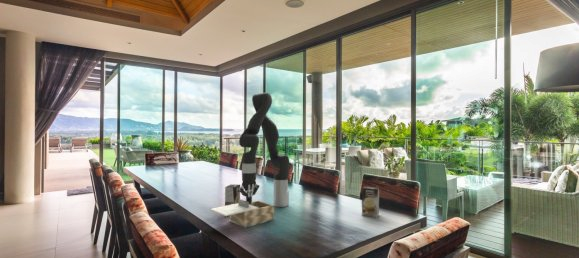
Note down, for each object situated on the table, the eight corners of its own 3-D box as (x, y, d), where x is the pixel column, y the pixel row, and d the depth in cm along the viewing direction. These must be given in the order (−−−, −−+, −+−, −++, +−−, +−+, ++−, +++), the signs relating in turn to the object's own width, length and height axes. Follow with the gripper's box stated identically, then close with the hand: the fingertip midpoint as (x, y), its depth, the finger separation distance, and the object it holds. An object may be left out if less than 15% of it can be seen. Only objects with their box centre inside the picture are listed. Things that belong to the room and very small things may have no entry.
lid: (242, 203, 165) (242, 197, 165) (258, 208, 154) (258, 201, 154) (210, 209, 151) (210, 202, 151) (225, 216, 141) (225, 208, 141)
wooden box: (258, 214, 172) (258, 200, 172) (273, 219, 162) (273, 205, 162) (230, 221, 159) (230, 206, 159) (245, 227, 149) (245, 211, 149)
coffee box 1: (234, 215, 170) (235, 187, 170) (224, 214, 172) (224, 186, 172) (240, 210, 179) (240, 184, 179) (230, 210, 181) (230, 183, 181)
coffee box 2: (361, 215, 172) (361, 187, 172) (363, 212, 178) (363, 185, 178) (377, 217, 168) (377, 189, 168) (379, 214, 174) (379, 187, 174)
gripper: (254, 169, 166) (254, 200, 166) (234, 172, 157) (234, 204, 157) (263, 171, 161) (262, 202, 161) (242, 173, 152) (242, 207, 152)
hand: (248, 203), depth 159 cm, fingers closed
